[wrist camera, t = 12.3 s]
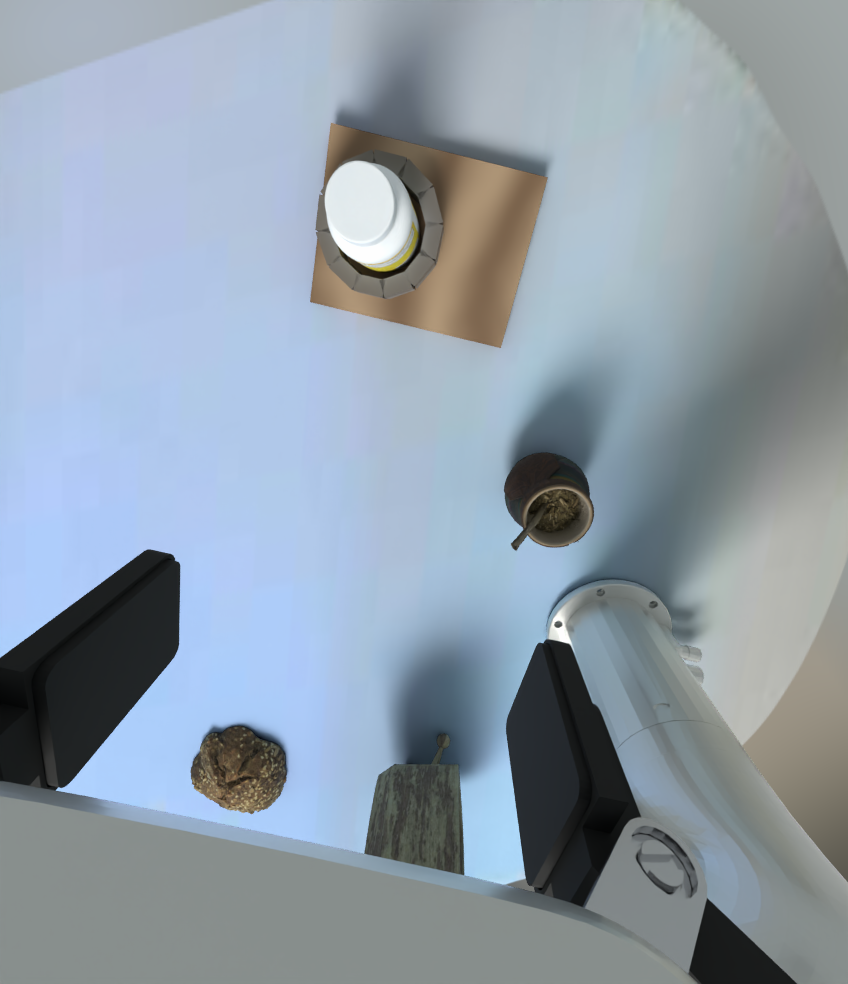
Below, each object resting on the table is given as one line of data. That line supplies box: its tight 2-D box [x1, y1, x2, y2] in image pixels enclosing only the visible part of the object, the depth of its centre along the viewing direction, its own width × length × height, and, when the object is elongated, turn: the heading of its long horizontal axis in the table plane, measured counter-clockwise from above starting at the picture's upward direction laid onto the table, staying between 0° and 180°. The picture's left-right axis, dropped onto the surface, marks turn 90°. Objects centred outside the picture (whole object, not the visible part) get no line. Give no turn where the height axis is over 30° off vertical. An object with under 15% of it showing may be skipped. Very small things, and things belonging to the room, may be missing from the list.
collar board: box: [310, 123, 548, 348], centre depth 33 cm, size 16×12×4 cm
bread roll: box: [191, 726, 287, 814], centre depth 56 cm, size 13×12×5 cm
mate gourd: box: [504, 452, 594, 550], centre depth 37 cm, size 7×8×10 cm
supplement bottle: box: [325, 161, 420, 273], centre depth 29 cm, size 5×5×10 cm
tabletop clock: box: [364, 734, 464, 875], centre depth 44 cm, size 14×9×25 cm, turn 4°
